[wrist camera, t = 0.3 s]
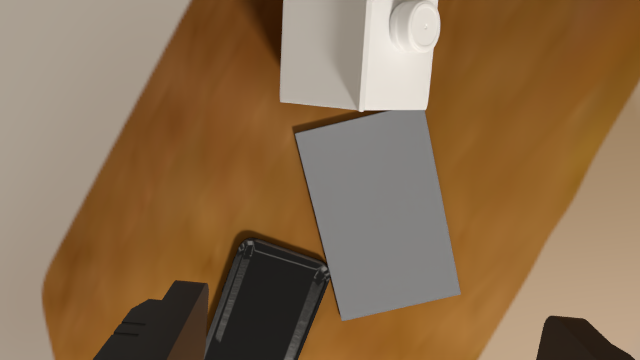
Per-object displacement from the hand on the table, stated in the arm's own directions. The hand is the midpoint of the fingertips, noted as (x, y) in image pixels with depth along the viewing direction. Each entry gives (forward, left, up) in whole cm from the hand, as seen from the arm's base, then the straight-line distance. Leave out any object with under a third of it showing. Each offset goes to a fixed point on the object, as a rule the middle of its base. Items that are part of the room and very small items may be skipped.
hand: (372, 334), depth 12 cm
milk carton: (-8, -2, -29) cm, 30 cm away
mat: (+4, +5, -28) cm, 29 cm away
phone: (+16, -2, -29) cm, 33 cm away
